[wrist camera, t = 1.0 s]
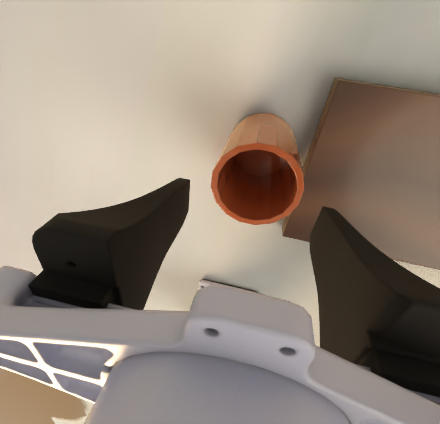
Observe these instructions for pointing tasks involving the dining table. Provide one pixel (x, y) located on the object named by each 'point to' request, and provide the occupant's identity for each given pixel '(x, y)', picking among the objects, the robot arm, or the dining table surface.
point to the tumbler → (259, 171)
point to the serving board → (376, 170)
